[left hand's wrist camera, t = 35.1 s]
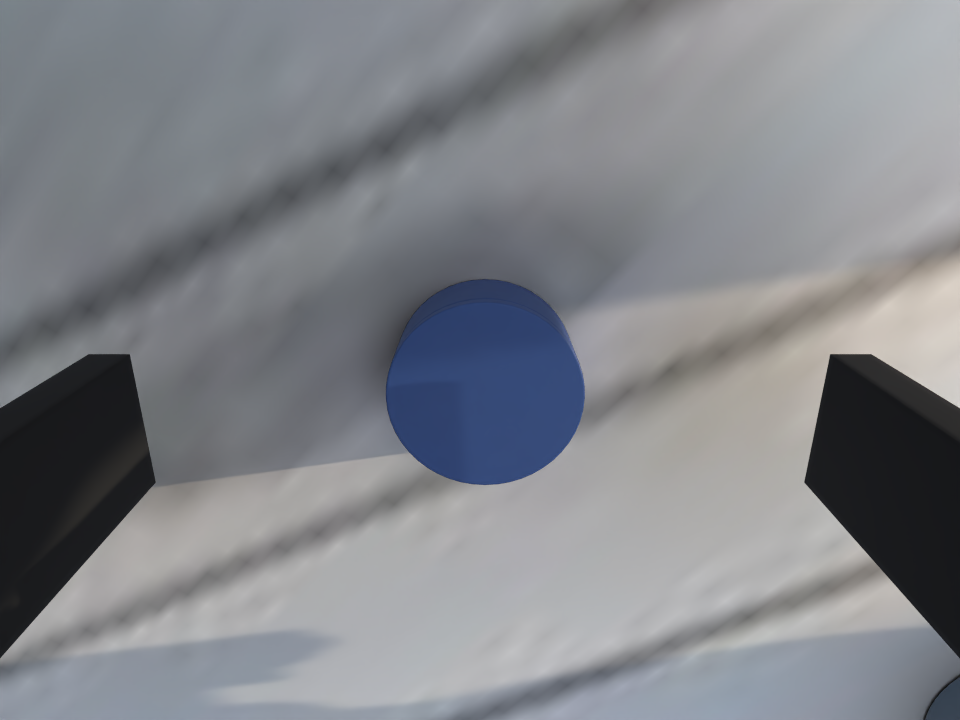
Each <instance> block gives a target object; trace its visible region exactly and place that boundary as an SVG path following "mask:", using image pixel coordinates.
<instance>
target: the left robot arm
mask: <svg viewBox="0 0 960 720" xmlns="http://www.w3.org/2000/svg"><path fill="white" fill-rule="evenodd" d="M154 484H155V477H154V472H153V467H152V462H151V457H150V452H149V447H148V443H147V438H146V433H145V428H144V423H143V418H142V413H141V408H140V403H139V398H138V393H137V388H136V383H135V378H134V373H133V368H132V364H131V359H130V354H89V355H87V356H85V357H84V358H82V359H80V360H79V361H77V362H75V363H74V364H72V365H71V366H69V367H67V368H66V369H64V370H62V371H61V372H59V373H57V374H56V375H54V376H52V377H51V378H49V379H48V380H46V381H44V382H43V383H41V384H39V385H38V386H36V387H34V388H33V389H31V390H30V391H28V392H26V393H25V394H23V395H21V396H20V397H18V398H16V399H15V400H13V401H12V402H10V403H8V404H7V405H5V406H3V407H2V408H0V658H1V657H2V656H3V654H4V653H5V652H6V651H7V650H8V649H9V648H10V646H11V645H12V644H13V643H14V642H15V641H16V640H17V639H18V637H19V636H20V635H21V634H22V633H23V632H24V631H25V630H26V628H27V627H28V626H29V625H30V624H31V623H32V622H33V620H34V619H35V618H36V617H37V616H38V615H39V614H40V613H41V611H42V610H43V609H44V608H45V607H46V606H47V605H48V604H49V602H50V601H51V600H52V599H53V598H54V597H55V596H56V594H57V593H58V592H59V591H60V590H61V589H62V588H63V587H64V585H65V584H66V583H67V582H68V581H69V580H70V579H71V577H72V576H73V575H74V574H75V573H76V572H77V571H78V570H79V568H80V567H81V566H82V565H83V564H84V563H85V562H86V561H87V559H88V558H89V557H90V556H91V555H92V554H93V553H94V551H95V550H96V549H97V548H98V547H99V546H100V545H101V544H102V542H103V541H104V540H105V539H106V538H107V537H108V536H109V535H110V533H111V532H112V531H113V530H114V529H115V528H116V527H117V525H118V524H119V523H120V522H121V521H122V520H123V519H124V518H125V516H126V515H127V514H128V513H129V512H130V511H131V510H132V508H133V507H134V506H135V505H136V504H137V503H138V502H139V501H140V499H141V498H142V497H143V496H144V495H145V494H146V493H147V492H148V490H149V489H150V488H151V487H152V486H153V485H154ZM805 484H806V485H807V486H808V487H809V488H810V489H811V490H812V492H813V493H814V494H815V495H816V496H817V497H818V498H819V499H820V501H821V502H822V503H823V504H824V505H825V506H826V507H827V508H828V510H829V511H830V512H831V513H832V514H833V515H834V516H835V518H836V519H837V520H838V521H839V522H840V523H841V524H842V525H843V527H844V528H845V529H846V530H847V531H848V532H849V533H850V535H851V536H852V537H853V538H854V539H855V540H856V541H857V542H858V544H859V545H860V546H861V547H862V548H863V549H864V550H865V551H866V553H867V554H868V555H869V556H870V557H871V558H872V559H873V561H874V562H875V563H876V564H877V565H878V566H879V567H880V568H881V570H882V571H883V572H884V573H885V574H886V575H887V576H888V577H889V579H890V580H891V581H892V582H893V583H894V584H895V585H896V587H897V588H898V589H899V590H900V591H901V592H902V593H903V594H904V596H905V597H906V598H907V599H908V600H909V601H910V602H911V604H912V605H913V606H914V607H915V608H916V609H917V610H918V611H919V613H920V614H921V615H922V616H923V617H924V618H925V619H926V620H927V622H928V623H929V624H930V625H931V626H932V627H933V628H934V630H935V631H936V632H937V633H938V634H939V635H940V636H941V637H942V639H943V640H944V641H945V642H946V643H947V644H948V645H949V646H950V648H951V649H952V650H953V651H954V652H955V653H956V654H957V656H958V657H959V658H960V408H958V407H957V406H955V405H953V404H952V403H950V402H948V401H947V400H945V399H944V398H942V397H940V396H939V395H937V394H935V393H934V392H932V391H930V390H929V389H927V388H926V387H924V386H922V385H921V384H919V383H917V382H916V381H914V380H912V379H911V378H909V377H908V376H906V375H904V374H903V373H901V372H899V371H898V370H896V369H894V368H893V367H891V366H889V365H888V364H886V363H885V362H883V361H881V360H880V359H878V358H876V357H875V356H873V355H871V354H830V359H829V364H828V368H827V373H826V378H825V383H824V388H823V393H822V398H821V403H820V408H819V413H818V418H817V423H816V428H815V433H814V438H813V443H812V447H811V452H810V457H809V462H808V467H807V472H806V477H805Z"/></svg>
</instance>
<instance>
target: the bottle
mask: <svg viewBox="0 0 960 720" xmlns="http://www.w3.org/2000/svg"><path fill="white" fill-rule="evenodd" d="M925 720H960V677H959V678H957V679H956V680H955V681H953V682H952V683H951V684H949V685H948V686H947V687H946V688H945V689H944V690H943V691H942V692H941V693H940V694H939V695H938V696H937V698H936V699H935V700H934V702H933V703H932V705H931V706H930V708H929V711H928V713H927V715H926V718H925Z"/></svg>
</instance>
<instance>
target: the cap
mask: <svg viewBox="0 0 960 720" xmlns="http://www.w3.org/2000/svg"><path fill="white" fill-rule="evenodd" d="M584 399H585V386H584V380H583V374H582V371H581V367H580V364H579V361H578V359H577V356H576V354H575V351H574V348H573V346H572V343H571V341H570V338H569V336H568V333H567V331H566V329H565V327H564V325H563V323H562V321H561V320H560V318H559V317H558V315H557V314H556V313H555V311H554V310H553V309H552V308H551V307H550V306H549V305H548V304H547V303H546V302H545V301H544V300H542V299H541V298H540V297H539V296H537V295H536V294H534V293H533V292H531V291H529V290H527V289H525V288H523V287H521V286H518V285H515V284H512V283H509V282H504V281H499V280H487V279H483V280H471V281H466V282H461V283H458V284H455V285H452V286H450V287H447V288H445V289H443V290H441V291H439V292H438V293H436V294H435V295H433V296H432V297H430V298H429V299H428V300H427V301H426V302H424V303H423V304H422V305H421V306H420V307H419V308H418V310H417V311H416V312H415V313H414V314H413V316H412V317H411V319H410V320H409V322H408V323H407V325H406V327H405V330H404V332H403V334H402V337H401V339H400V342H399V344H398V347H397V350H396V352H395V355H394V358H393V360H392V363H391V366H390V369H389V373H388V378H387V384H386V402H387V410H388V414H389V417H390V421H391V423H392V426H393V428H394V430H395V433H396V434H397V436H398V438H399V439H400V441H401V442H402V444H403V445H404V446H405V448H406V449H407V450H408V451H409V452H410V453H411V454H412V455H413V456H414V457H415V458H416V459H417V460H418V461H419V462H420V463H422V464H423V465H424V466H426V467H427V468H429V469H430V470H432V471H434V472H436V473H437V474H440V475H442V476H444V477H447V478H449V479H452V480H456V481H459V482H464V483H469V484H479V485H491V484H501V483H507V482H511V481H515V480H518V479H522V478H524V477H526V476H529V475H531V474H533V473H535V472H537V471H538V470H540V469H542V468H543V467H545V466H546V465H547V464H549V463H550V462H551V461H553V460H554V459H555V458H556V457H557V456H558V455H559V454H560V453H561V452H562V451H563V449H564V448H565V447H566V446H567V444H568V443H569V442H570V440H571V438H572V437H573V435H574V434H575V432H576V429H577V427H578V425H579V422H580V419H581V416H582V412H583V407H584Z"/></svg>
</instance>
